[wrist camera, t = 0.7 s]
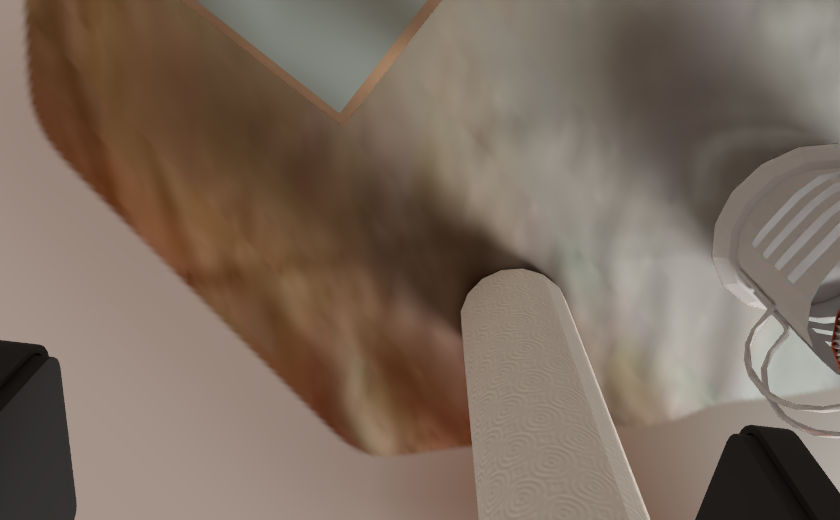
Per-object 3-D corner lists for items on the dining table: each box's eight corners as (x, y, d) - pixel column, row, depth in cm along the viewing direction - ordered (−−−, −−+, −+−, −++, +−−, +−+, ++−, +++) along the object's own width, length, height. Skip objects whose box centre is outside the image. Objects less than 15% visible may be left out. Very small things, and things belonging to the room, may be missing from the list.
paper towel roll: (447, 280, 38) (469, 636, 19) (555, 253, 37) (695, 594, 18) (479, 384, 41) (526, 785, 22) (579, 361, 40) (722, 754, 21)
